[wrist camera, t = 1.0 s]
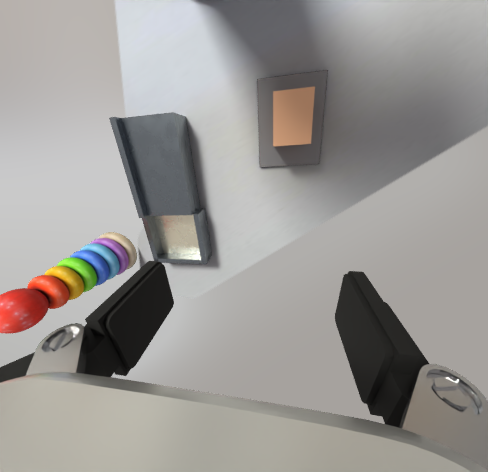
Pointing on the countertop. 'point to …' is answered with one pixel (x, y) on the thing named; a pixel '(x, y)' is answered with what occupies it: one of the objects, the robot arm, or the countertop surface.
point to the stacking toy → (66, 281)
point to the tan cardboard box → (293, 116)
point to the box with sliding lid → (164, 185)
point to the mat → (265, 119)
